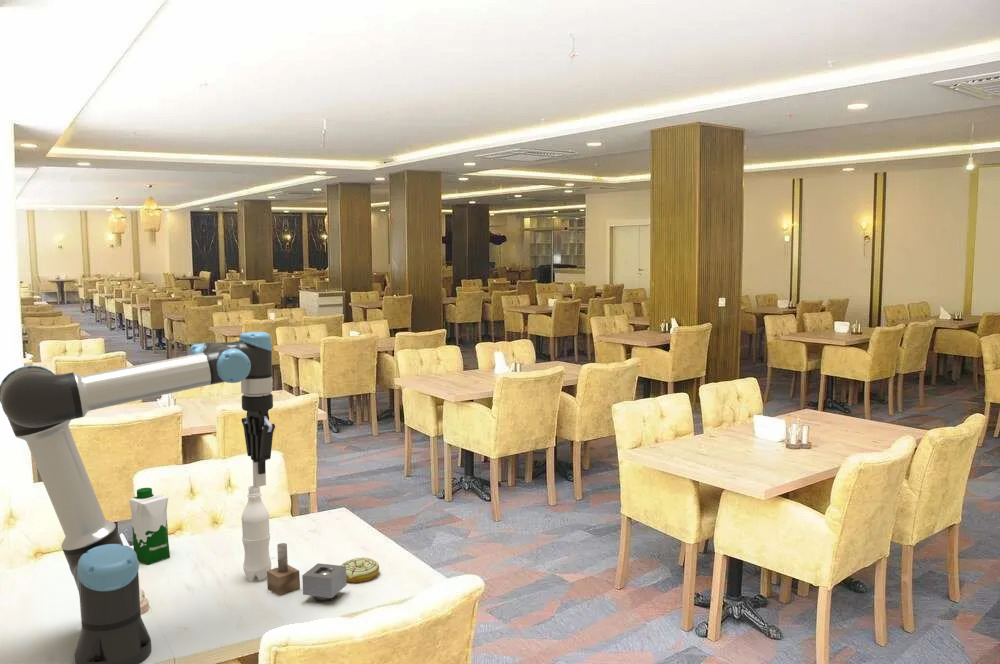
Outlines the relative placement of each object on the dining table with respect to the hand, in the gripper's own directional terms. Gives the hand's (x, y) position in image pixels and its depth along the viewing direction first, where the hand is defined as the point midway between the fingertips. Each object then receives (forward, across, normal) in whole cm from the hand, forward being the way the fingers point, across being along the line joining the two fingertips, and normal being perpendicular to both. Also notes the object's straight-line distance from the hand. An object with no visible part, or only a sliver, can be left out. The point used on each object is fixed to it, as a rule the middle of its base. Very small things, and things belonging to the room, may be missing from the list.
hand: (259, 485), depth 205 cm
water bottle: (+29, +11, -4) cm, 31 cm away
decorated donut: (+29, -8, -24) cm, 38 cm away
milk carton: (+29, +45, +10) cm, 54 cm away
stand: (+29, -1, -5) cm, 29 cm away
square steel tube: (+26, -13, -10) cm, 31 cm away
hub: (+28, -13, -10) cm, 33 cm away
